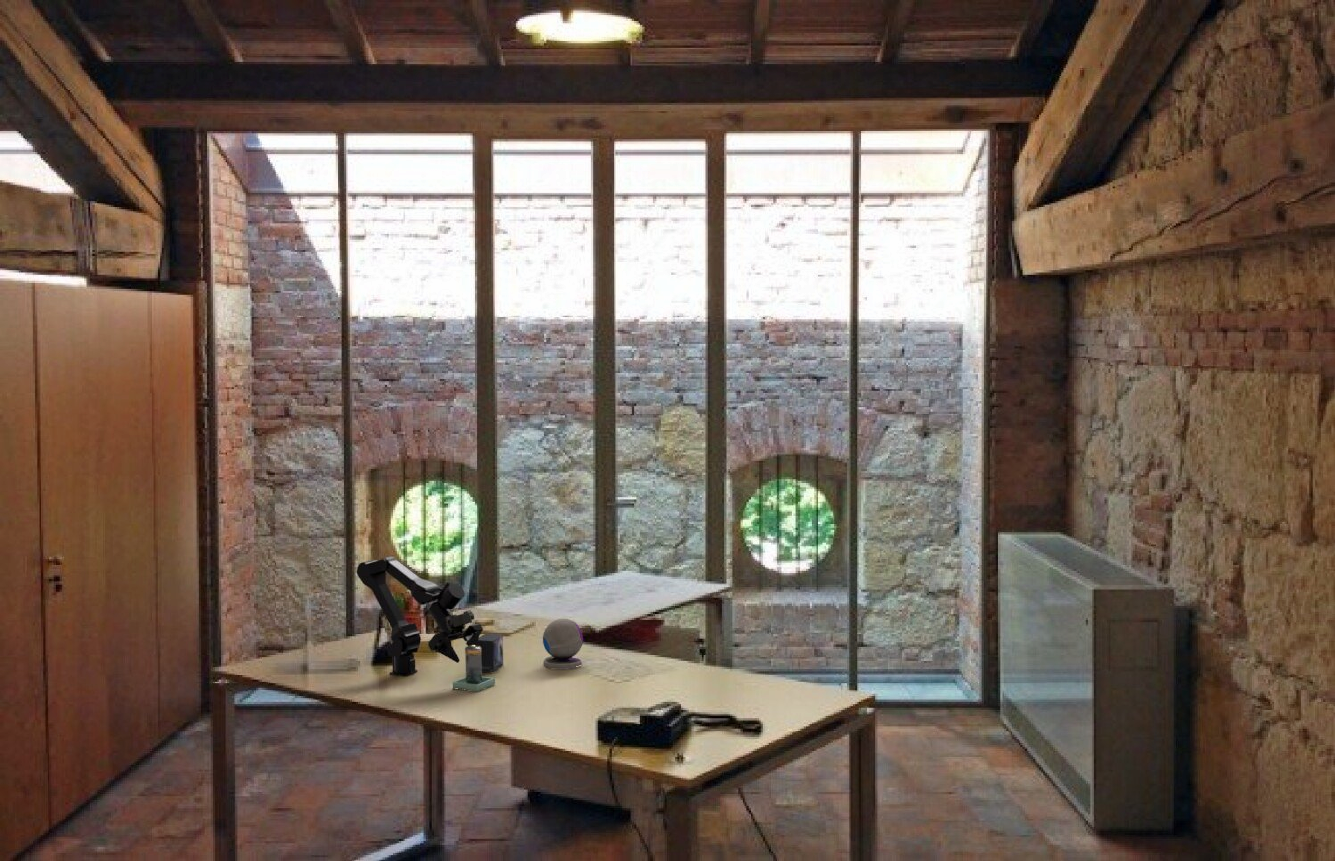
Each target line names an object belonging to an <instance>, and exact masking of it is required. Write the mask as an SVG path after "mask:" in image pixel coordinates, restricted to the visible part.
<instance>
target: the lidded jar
mask: <svg viewBox="0 0 1335 861" xmlns="http://www.w3.org/2000/svg"><path fill="white" fill-rule="evenodd" d="M464 654H465V657H464V658H465V677H466V683H469V684H477V685H478V684H480V683H482V677H483V676H482V674H483V672H482V666H481V647H480V646H476V645H471V646H467V645H466V646H465V648H464Z"/></svg>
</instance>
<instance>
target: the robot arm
mask: <svg viewBox="0 0 1335 861" xmlns="http://www.w3.org/2000/svg"><path fill="white" fill-rule="evenodd" d="M356 574H357V577H358V578H359V580H360V581H361V582H362V584H363V585H364V586H366V587H367V588H369V589H370V590H371V591H372V593H373V595H374V598H375V599H376V601H377V603H378V604H379V606H380V608H381V611H382V612H383V615H384V616H385V618H386V621H387V623H388V624H389V625H390V628H391V632H390V634H391V635H390V637H391V640H392V643H391V644H390V645H389V646H388V648H387V649H386V651H387V652H386V653H387V655H388V656H389V657H391V658H392V660H391V661H392V662H391V663H392V671H389V675H396V676H405V677H407V676H410V675H412V674H414V673H415V674H416V673H417V672H418V669H416V659H415V653H418V651H419V647H420V644H421V641H422V637H421V635H420V634H421V632H420V631H419V629H418V627H417V624H416V623H415V622H411V623H410V622H408V621H407V620H406V618H405V616H404V615H403V613H402V610H401V609H400V607H399V604H398V602H397V601H396V600H395V597H394V595H393V594H392V592H391V590H390V587H389V586H388V584H387V574H388V575H390V576H391V577H392V578H394V579H395V580H396V581H398V582H399V583H400V584H402V585H403V586H404V587H405V588H406V589H407V590H409V592H410V594H411V597H412V598H413V600H415V602H417V603H418V605H421V606H424V605H427V604H430V605H429V606H426V607H425V611H424V617H428V616H429V617H430V616H431V617H432V619H433V621H434V622H435V624H436V627H435V629H436V631H440V632H437V633H434V635H432V637H431V639H430V640H429V641H428V648H429V649H430V651H431V652H435V653H439V654H440V655H443V656H445V657H446V658H448V659H450V660H451V661H452V662H455V663H456V664H458V663H459V662H460V657H459V656H458V654H457V653H456V650H455V649H454V647H453V645H452V641H455V640H456V641H457V640H460V639H463V640H464V641H465V645H466V647H467V646H471V645H476V646H480V645H479V637H480V636H481V634H482V632H483V631H484V628H483V626H482V625H481V624H480V623H474V624H472V623H473V620H475V615H474V613H473V611H472V610H471V609H467V610H466V611H462V612H463V613H460V614H458V615H457V614H456V613H455V614H453V612H452V611H451V610H454V609H455V608H456V607H457V606H458V605H459V603H461V601H462V599H464V598H465V596H466V593H465V590H464V589H463V587H461V586H459V585H458V584H455V583H454V582H453V581H448V582H446V584H445V585H444V587H443V588H441V587H440V586H439V585H437V584H436V583H434V582H432V581H431V580H426V579H424V578H423V579H422V578H420V577H419V576H418V575H416V574H415V573H414V572H412V571H411V570H410V569H409V568H407V567H406V566H405V565H404V564H402V563H401V562H399V561H398V559H397V558H396V557H395V556H388V557H383V558H381V559H372V560H367V561H362V562H360V563H358V565H357V569H356ZM467 624H470V625H469V626H467V628H466V625H467ZM465 628H466V629H465ZM464 629H465V630H464ZM481 655H482V654H481Z"/></svg>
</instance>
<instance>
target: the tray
mask: <svg viewBox="0 0 1335 861" xmlns="http://www.w3.org/2000/svg"><path fill="white" fill-rule="evenodd" d="M494 684H495V685H496V678H494V677H489V676H482V683H480V684H478V685H477V684H469V683H466V676H465V677H461V678H460V679H457V680H454V681H452V689H453V688H458V689H457V690H460V689H463V690H462V691H468V690H470V691H471V692H476V691H478V692H481V691H483V689H484V688H486V689H488V688H491V687H492V685H493V686H495V685H494ZM490 686H491V687H490ZM464 689H465V690H464ZM480 690H481V691H480ZM484 690H485V689H484ZM470 691H469V692H470ZM478 692H477V693H478Z"/></svg>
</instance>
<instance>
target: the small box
mask: <svg viewBox="0 0 1335 861" xmlns="http://www.w3.org/2000/svg"><path fill="white" fill-rule="evenodd" d="M479 645H480V647H481V654H482V655H481V666H482V673H490V672H493V673H495V672H496V671H498V668H499V669H500V668H501V667H503V666H504V634H502V633H490V632H489V633H488V632H485V633H484V634H482V635H480V636H479ZM502 665H503V666H502Z"/></svg>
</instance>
